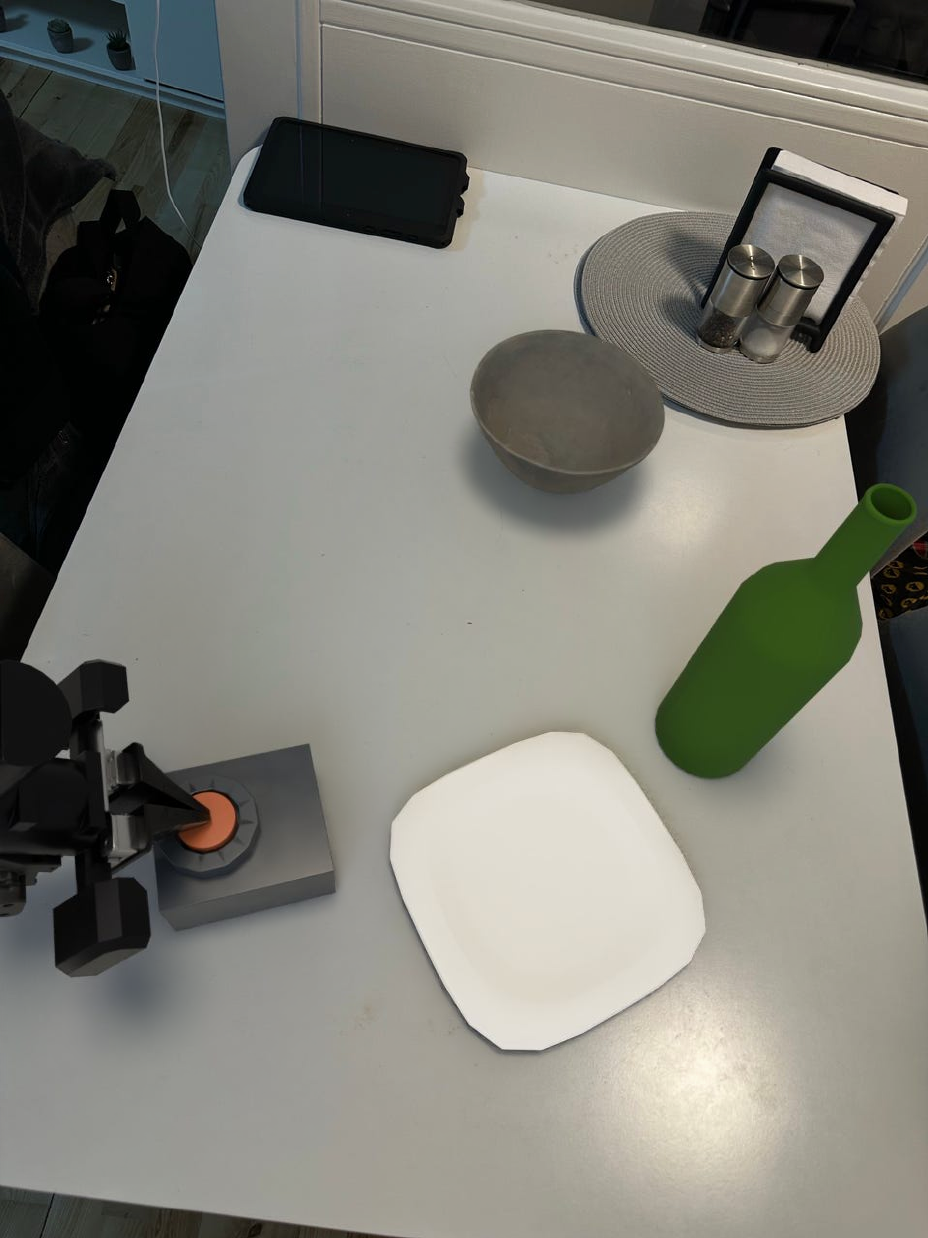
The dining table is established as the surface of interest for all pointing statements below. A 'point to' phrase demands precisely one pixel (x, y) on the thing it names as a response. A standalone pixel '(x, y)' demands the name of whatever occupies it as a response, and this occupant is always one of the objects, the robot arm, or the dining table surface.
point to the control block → (249, 842)
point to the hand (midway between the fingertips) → (206, 818)
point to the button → (212, 825)
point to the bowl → (566, 409)
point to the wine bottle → (777, 644)
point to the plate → (545, 889)
